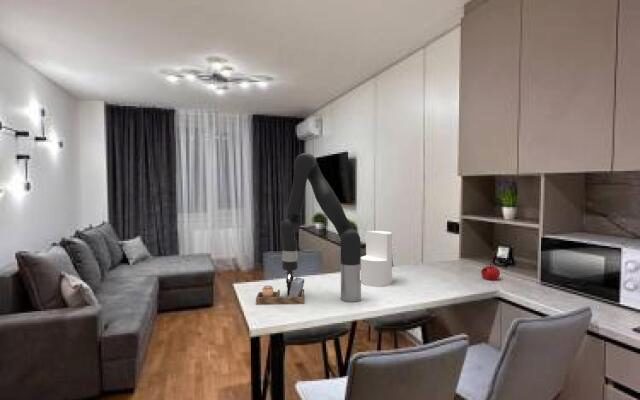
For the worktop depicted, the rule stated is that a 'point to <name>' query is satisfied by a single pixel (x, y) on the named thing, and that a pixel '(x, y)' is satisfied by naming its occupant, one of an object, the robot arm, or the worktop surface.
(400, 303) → the worktop surface
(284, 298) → the caddy
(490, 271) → the pomegranate
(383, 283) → the white stepped solid
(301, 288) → the medicine box
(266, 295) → the terracotta jar
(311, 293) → the worktop surface
